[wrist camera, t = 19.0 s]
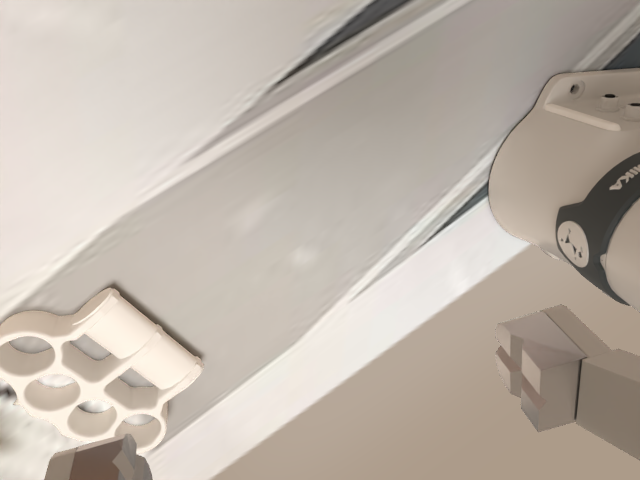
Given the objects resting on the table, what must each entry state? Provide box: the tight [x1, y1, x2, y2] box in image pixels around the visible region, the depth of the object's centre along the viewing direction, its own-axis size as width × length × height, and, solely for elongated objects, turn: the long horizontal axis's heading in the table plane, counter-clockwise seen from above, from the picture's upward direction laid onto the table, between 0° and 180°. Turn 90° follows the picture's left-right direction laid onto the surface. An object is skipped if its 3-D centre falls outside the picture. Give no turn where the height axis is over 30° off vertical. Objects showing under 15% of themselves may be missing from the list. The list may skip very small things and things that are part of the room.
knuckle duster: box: [0, 288, 204, 454], centre depth 49 cm, size 3×18×15 cm
